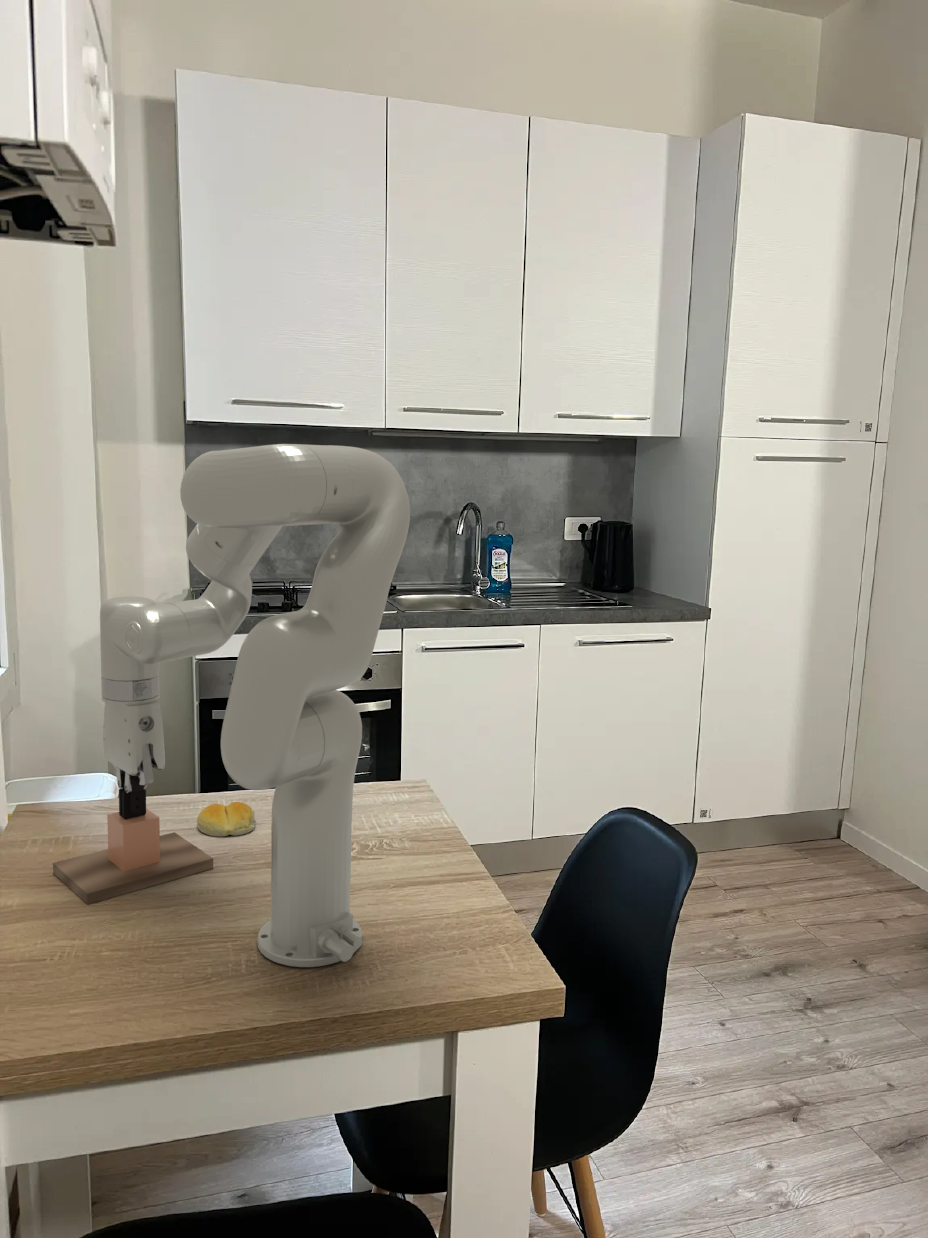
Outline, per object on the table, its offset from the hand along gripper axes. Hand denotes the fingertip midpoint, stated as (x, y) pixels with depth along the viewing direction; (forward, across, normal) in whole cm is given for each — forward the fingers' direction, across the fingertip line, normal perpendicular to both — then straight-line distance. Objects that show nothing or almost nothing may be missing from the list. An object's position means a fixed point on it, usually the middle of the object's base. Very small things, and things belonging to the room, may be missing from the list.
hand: (132, 815), depth 133 cm
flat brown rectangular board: (+8, 0, 0) cm, 8 cm away
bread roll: (+9, +6, -18) cm, 21 cm away
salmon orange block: (+7, 0, 0) cm, 7 cm away
